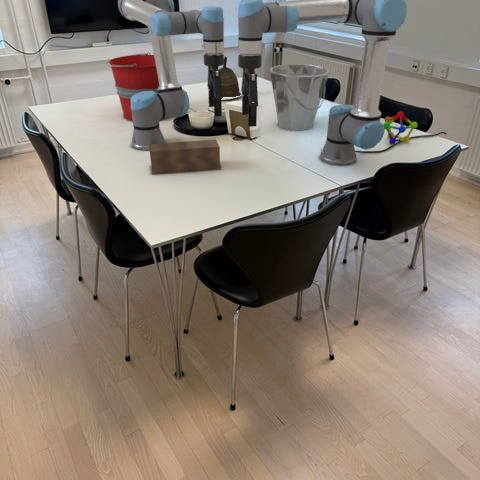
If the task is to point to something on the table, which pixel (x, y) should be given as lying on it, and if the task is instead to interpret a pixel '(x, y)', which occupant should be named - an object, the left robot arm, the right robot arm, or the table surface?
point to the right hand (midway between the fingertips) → (248, 120)
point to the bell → (229, 81)
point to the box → (184, 156)
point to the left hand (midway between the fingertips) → (215, 111)
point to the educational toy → (398, 128)
